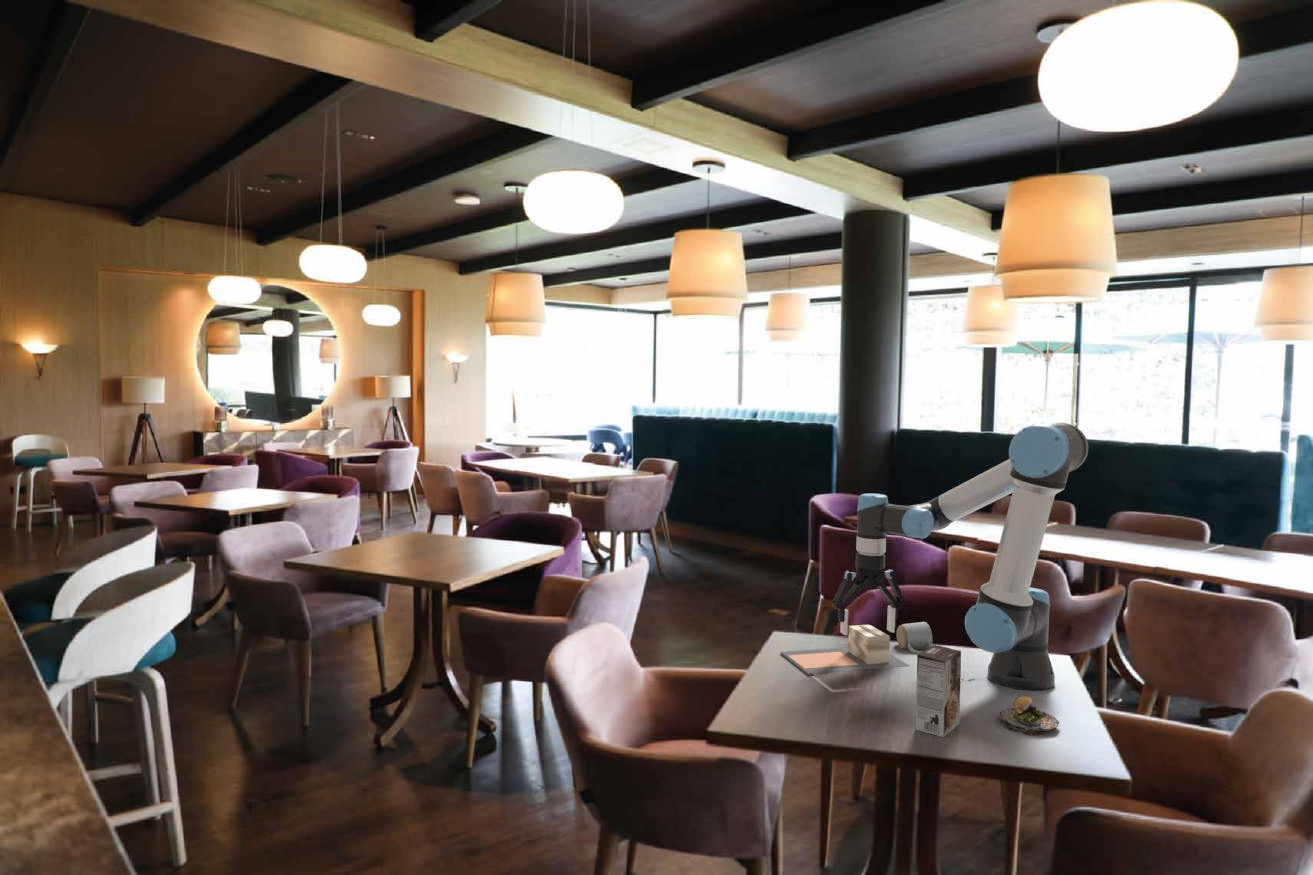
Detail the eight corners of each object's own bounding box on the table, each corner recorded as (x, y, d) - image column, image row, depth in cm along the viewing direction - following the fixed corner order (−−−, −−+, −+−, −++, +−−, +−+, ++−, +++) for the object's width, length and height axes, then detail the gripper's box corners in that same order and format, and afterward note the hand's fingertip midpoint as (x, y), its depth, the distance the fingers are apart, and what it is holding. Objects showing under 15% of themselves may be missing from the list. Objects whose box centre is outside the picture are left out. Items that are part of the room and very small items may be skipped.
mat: (910, 668, 218) (910, 665, 218) (808, 675, 211) (808, 673, 211) (875, 647, 235) (875, 644, 235) (780, 654, 228) (780, 651, 228)
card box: (889, 662, 220) (889, 635, 220) (867, 664, 219) (868, 636, 218) (868, 649, 231) (869, 623, 230) (848, 651, 229) (848, 625, 229)
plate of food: (1039, 741, 173) (1041, 705, 172) (987, 723, 182) (988, 689, 182) (1070, 728, 180) (1071, 693, 179) (1018, 711, 189) (1019, 678, 189)
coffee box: (930, 717, 185) (932, 643, 184) (960, 724, 181) (962, 649, 180) (913, 729, 178) (915, 653, 177) (944, 737, 174) (946, 660, 173)
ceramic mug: (894, 645, 237) (895, 619, 237) (921, 644, 238) (922, 618, 238) (909, 657, 227) (910, 630, 227) (937, 656, 228) (938, 629, 228)
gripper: (905, 548, 230) (902, 625, 231) (820, 551, 224) (817, 630, 225) (920, 554, 223) (917, 634, 224) (833, 557, 216) (830, 638, 218)
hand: (867, 632), depth 225 cm, fingers open, 13 cm apart
